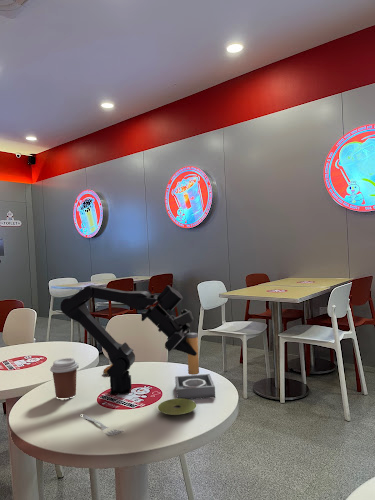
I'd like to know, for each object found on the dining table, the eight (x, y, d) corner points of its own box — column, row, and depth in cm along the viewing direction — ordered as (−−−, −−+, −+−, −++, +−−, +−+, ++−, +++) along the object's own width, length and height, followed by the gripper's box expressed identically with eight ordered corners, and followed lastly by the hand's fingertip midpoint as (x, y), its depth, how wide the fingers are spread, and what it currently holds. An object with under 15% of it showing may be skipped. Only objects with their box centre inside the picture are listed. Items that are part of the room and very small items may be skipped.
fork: (80, 410, 117) (79, 404, 117) (125, 436, 100) (125, 430, 100) (70, 414, 115) (70, 408, 115) (114, 441, 98) (114, 434, 98)
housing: (177, 400, 120) (177, 389, 120) (175, 386, 132) (175, 376, 132) (215, 397, 121) (214, 386, 121) (209, 383, 133) (209, 373, 133)
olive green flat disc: (154, 407, 116) (154, 401, 116) (190, 401, 119) (190, 395, 119) (162, 424, 105) (162, 417, 105) (201, 417, 108) (201, 410, 108)
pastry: (109, 377, 145) (108, 367, 145) (99, 374, 150) (99, 364, 150) (129, 371, 152) (128, 361, 152) (119, 368, 157) (119, 358, 157)
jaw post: (196, 375, 124) (194, 335, 124) (186, 373, 126) (184, 334, 126) (200, 371, 128) (199, 333, 127) (191, 370, 129) (189, 332, 129)
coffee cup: (53, 404, 122) (51, 367, 122) (50, 394, 130) (48, 359, 130) (82, 398, 126) (80, 362, 126) (77, 389, 134) (76, 355, 134)
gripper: (173, 308, 118) (210, 343, 116) (183, 298, 136) (215, 329, 135) (149, 333, 119) (186, 368, 118) (162, 321, 138) (194, 351, 136)
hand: (196, 353), depth 126 cm, fingers closed on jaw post, 4 cm apart
